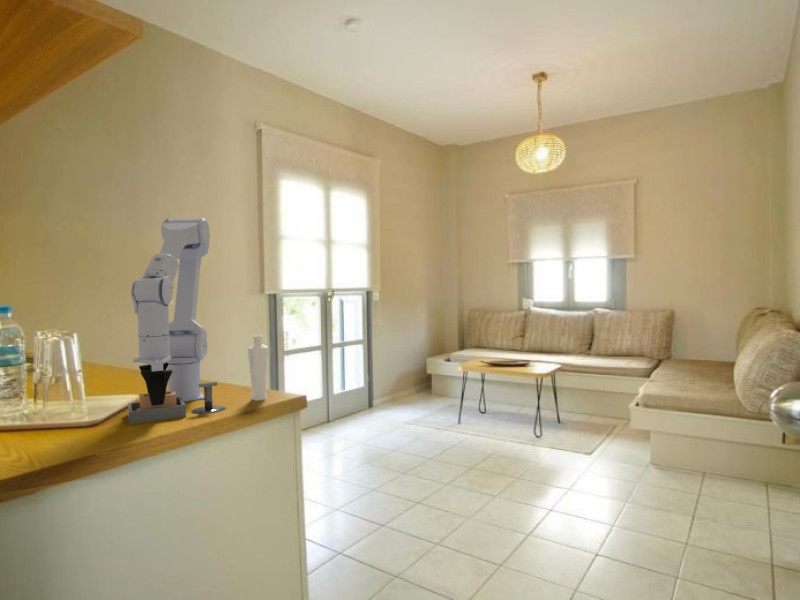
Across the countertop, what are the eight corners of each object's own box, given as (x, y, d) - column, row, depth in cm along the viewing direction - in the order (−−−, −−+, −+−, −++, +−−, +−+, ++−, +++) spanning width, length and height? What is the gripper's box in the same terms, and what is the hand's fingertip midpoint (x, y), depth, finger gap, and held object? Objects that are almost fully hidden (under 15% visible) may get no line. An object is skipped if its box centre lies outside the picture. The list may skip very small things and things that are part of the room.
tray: (128, 415, 103) (127, 403, 103) (181, 408, 108) (180, 396, 108) (129, 425, 95) (128, 412, 95) (186, 417, 101) (185, 404, 100)
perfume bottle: (251, 397, 118) (249, 335, 117) (269, 396, 118) (268, 334, 118) (247, 401, 113) (245, 337, 113) (266, 401, 114) (265, 336, 113)
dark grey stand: (189, 409, 107) (188, 382, 107) (222, 405, 111) (221, 378, 111) (193, 416, 101) (192, 387, 101) (228, 411, 105) (227, 383, 104)
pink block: (174, 408, 105) (174, 390, 105) (176, 413, 102) (176, 394, 102) (136, 413, 102) (136, 394, 102) (137, 418, 98) (136, 398, 98)
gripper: (131, 334, 106) (133, 397, 106) (132, 340, 93) (135, 411, 93) (167, 332, 109) (169, 392, 109) (173, 337, 97) (176, 406, 97)
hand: (156, 401), depth 102 cm, fingers open, 7 cm apart
